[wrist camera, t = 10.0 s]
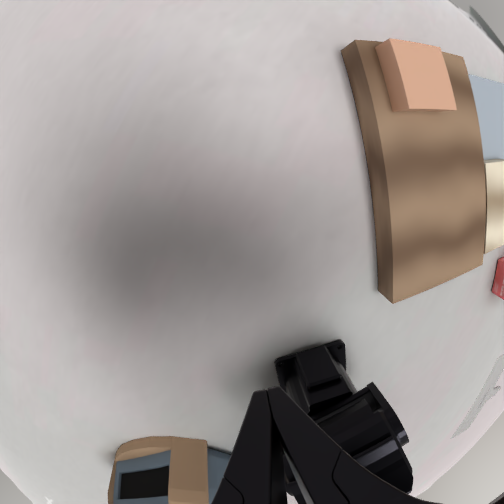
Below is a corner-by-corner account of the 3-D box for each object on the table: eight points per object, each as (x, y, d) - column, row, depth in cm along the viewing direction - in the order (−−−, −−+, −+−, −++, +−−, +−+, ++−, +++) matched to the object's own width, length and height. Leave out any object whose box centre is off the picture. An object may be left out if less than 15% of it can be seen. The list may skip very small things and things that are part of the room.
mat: (524, 222, 23) (525, 222, 23) (470, 246, 23) (471, 247, 23) (512, 87, 17) (514, 87, 17) (451, 71, 17) (453, 71, 17)
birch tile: (499, 235, 23) (511, 240, 21) (472, 247, 23) (484, 254, 21) (499, 158, 20) (512, 160, 18) (471, 161, 20) (485, 163, 18)
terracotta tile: (439, 111, 16) (457, 110, 14) (392, 111, 16) (409, 108, 14) (424, 53, 14) (440, 47, 12) (374, 47, 14) (389, 38, 12)
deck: (466, 256, 23) (482, 264, 21) (378, 290, 23) (392, 303, 20) (446, 61, 17) (462, 56, 14) (341, 50, 16) (354, 39, 14)
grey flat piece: (476, 420, 41) (478, 423, 40) (402, 460, 39) (404, 463, 38) (520, 340, 33) (523, 343, 32) (447, 382, 31) (450, 386, 30)
